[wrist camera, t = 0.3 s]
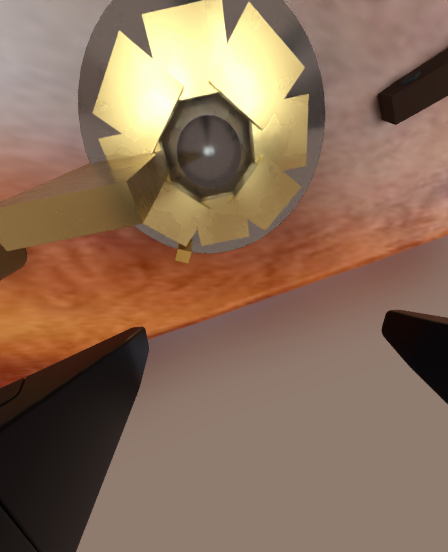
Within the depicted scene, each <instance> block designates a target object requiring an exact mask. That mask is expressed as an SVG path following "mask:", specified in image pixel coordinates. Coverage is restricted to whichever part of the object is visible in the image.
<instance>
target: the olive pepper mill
mask: <svg viewBox="0 0 448 552" xmlns="http://www.w3.org/2000/svg"><path fill="white" fill-rule="evenodd" d="M26 260H27V252H26V249H25V248H20V249H16V250H11V251H6V249H5V248H4V247H3V246H2V245H1V244H0V280H1V279H3V278H4V277H6V276H8V275H9V274H11V273H13V272H14V271H16V270H18V269H19V268H21V267H23V265H24V264H25V262H26Z"/></svg>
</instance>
